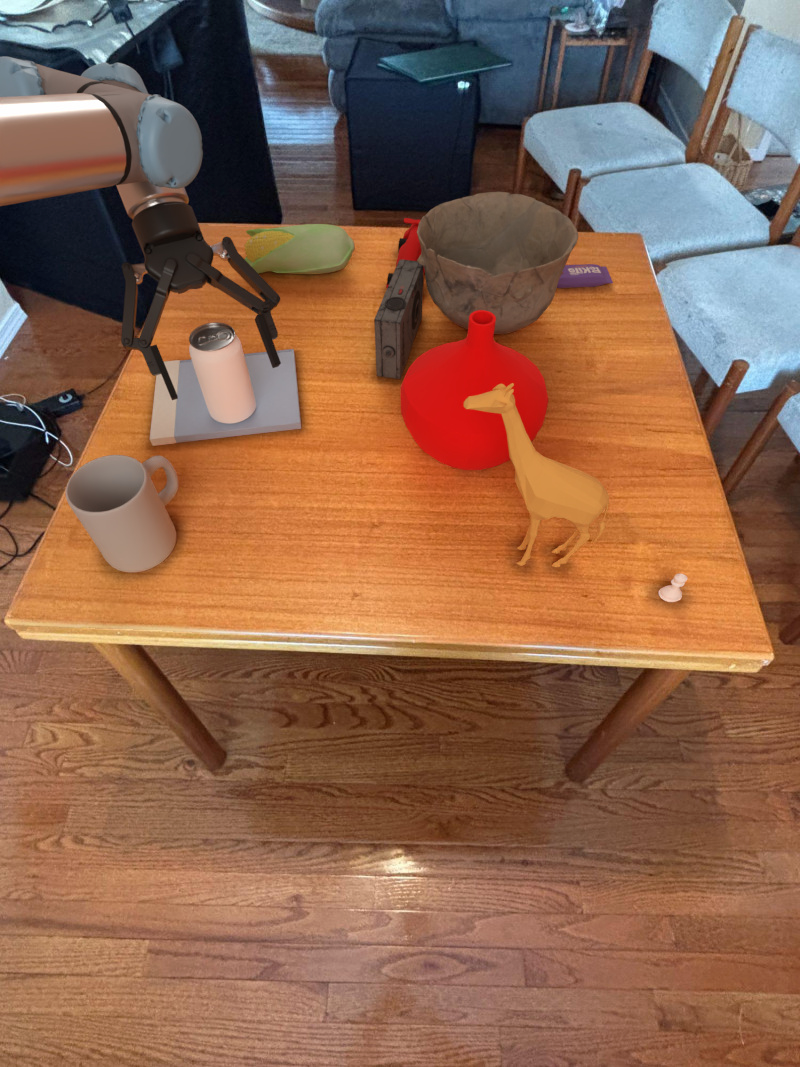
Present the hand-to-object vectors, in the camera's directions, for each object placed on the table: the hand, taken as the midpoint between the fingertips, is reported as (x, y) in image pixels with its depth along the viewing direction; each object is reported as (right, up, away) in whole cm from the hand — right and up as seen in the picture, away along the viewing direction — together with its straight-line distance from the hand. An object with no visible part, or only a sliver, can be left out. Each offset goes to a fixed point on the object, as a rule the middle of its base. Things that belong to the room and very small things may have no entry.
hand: (227, 382), depth 81 cm
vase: (+31, -7, +4) cm, 32 cm away
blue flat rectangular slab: (-2, 0, +9) cm, 10 cm away
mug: (-8, -20, -5) cm, 22 cm away
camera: (+22, +9, +16) cm, 29 cm away
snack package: (+52, +23, +26) cm, 63 cm away
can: (-1, -2, +6) cm, 7 cm away
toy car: (+24, +25, +28) cm, 45 cm away
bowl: (+36, +15, +20) cm, 44 cm away
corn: (+5, +26, +29) cm, 39 cm away
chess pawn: (+52, -26, -10) cm, 60 cm away
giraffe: (+36, -22, -7) cm, 43 cm away
